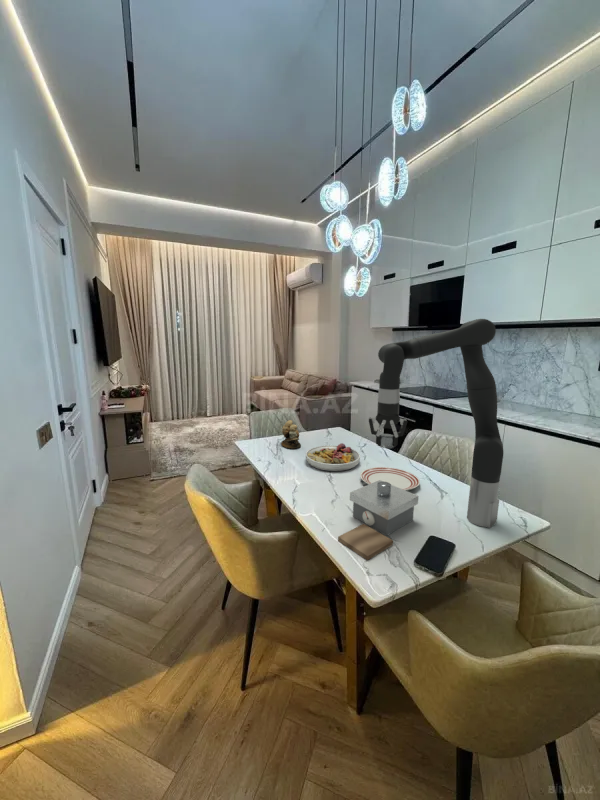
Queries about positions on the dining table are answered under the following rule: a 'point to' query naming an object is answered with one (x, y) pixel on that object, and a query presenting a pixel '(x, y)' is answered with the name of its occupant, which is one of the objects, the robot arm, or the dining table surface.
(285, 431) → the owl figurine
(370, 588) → the dining table surface
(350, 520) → the dining table surface
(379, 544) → the walnut board
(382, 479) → the dinner plate
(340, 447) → the bowl
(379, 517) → the scale
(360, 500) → the pan
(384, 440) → the cylinder
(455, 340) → the robot arm
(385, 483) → the cylinder
